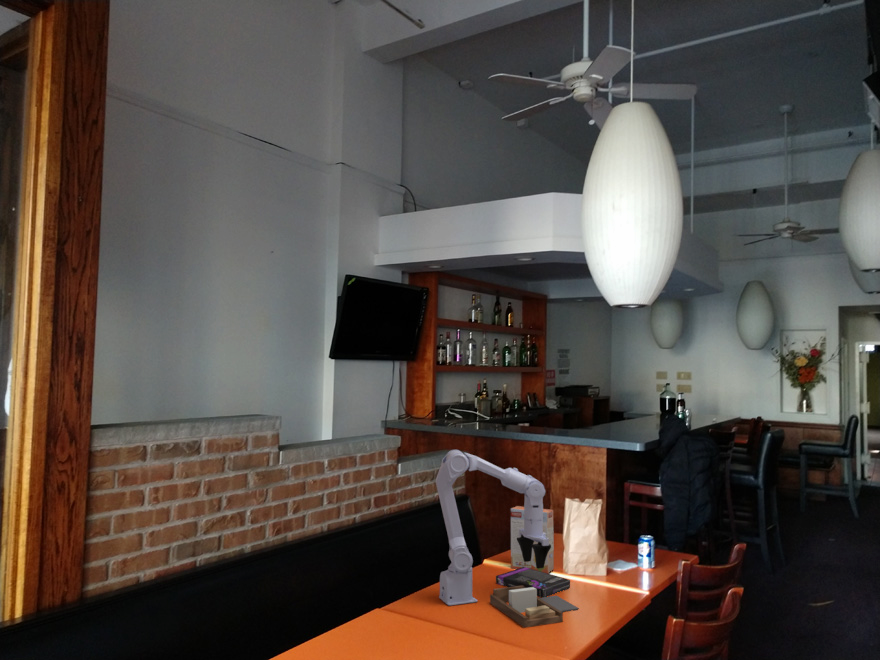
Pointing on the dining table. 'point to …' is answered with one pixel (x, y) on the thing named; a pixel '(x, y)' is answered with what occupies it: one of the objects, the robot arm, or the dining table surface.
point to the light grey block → (523, 598)
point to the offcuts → (538, 612)
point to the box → (534, 581)
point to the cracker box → (516, 552)
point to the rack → (499, 602)
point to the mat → (559, 603)
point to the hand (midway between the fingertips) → (533, 564)
